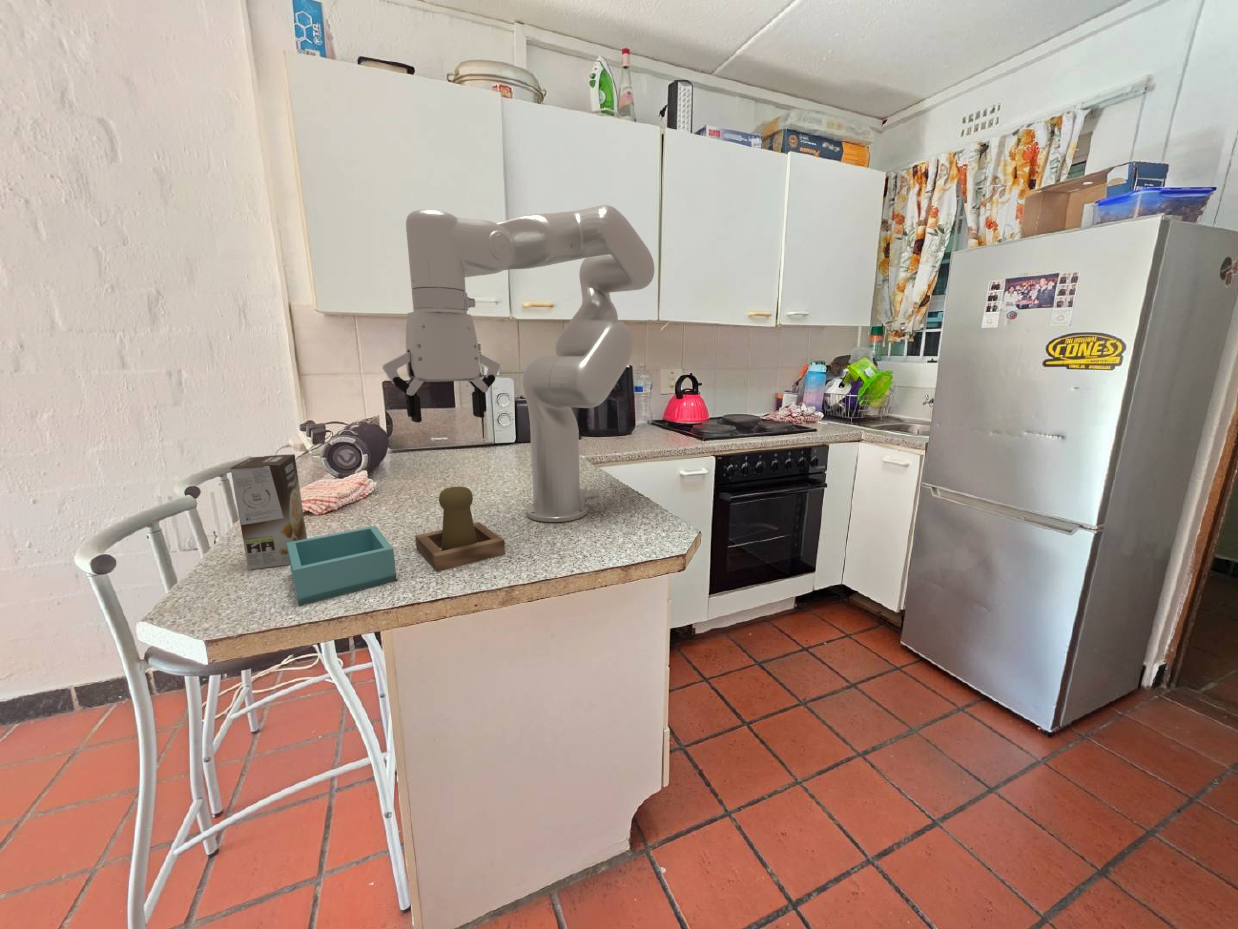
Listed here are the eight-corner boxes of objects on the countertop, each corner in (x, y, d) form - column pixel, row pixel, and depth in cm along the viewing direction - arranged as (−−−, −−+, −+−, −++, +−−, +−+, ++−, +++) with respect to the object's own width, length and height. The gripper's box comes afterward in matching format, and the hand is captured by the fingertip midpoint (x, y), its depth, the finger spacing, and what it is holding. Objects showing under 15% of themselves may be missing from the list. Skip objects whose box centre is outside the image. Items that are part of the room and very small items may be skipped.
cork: (468, 560, 77) (462, 494, 75) (433, 557, 78) (427, 492, 76) (485, 546, 83) (481, 484, 81) (453, 543, 84) (448, 482, 82)
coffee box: (296, 564, 76) (280, 464, 73) (247, 571, 74) (228, 468, 70) (309, 544, 84) (295, 453, 81) (265, 549, 82) (249, 456, 79)
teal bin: (379, 554, 80) (375, 525, 79) (396, 580, 70) (393, 548, 69) (291, 574, 73) (286, 542, 72) (298, 606, 63) (292, 570, 62)
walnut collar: (479, 535, 88) (478, 522, 88) (505, 554, 80) (504, 540, 79) (416, 549, 82) (415, 535, 81) (436, 572, 73) (435, 556, 73)
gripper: (486, 309, 80) (492, 413, 84) (370, 302, 70) (383, 421, 74) (505, 305, 74) (510, 417, 78) (382, 297, 64) (395, 426, 68)
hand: (448, 419), depth 76 cm, fingers open, 9 cm apart
